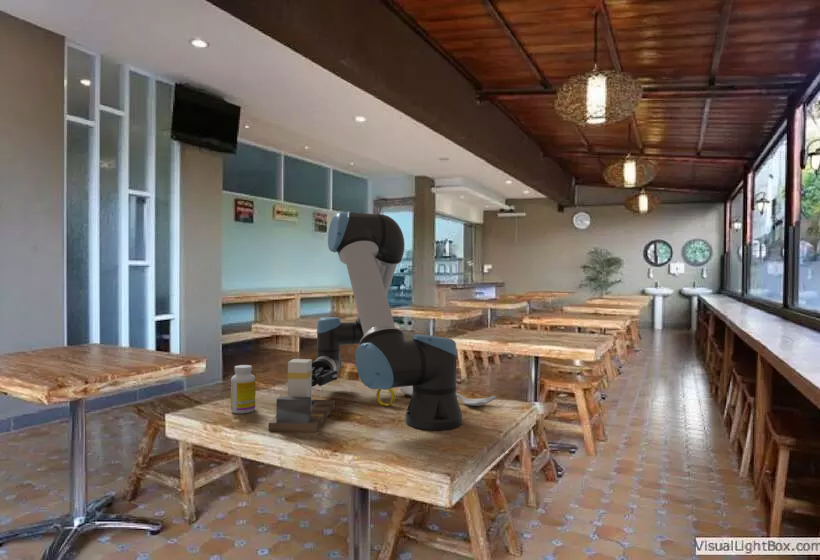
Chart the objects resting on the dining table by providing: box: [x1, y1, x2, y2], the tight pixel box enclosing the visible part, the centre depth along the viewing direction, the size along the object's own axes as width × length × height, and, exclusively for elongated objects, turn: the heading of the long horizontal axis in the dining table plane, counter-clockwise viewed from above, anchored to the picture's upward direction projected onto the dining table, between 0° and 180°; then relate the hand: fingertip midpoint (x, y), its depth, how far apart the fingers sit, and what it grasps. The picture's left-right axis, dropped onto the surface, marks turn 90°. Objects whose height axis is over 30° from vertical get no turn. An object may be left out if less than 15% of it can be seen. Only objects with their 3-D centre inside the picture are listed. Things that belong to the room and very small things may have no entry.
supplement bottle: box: [230, 364, 256, 415], centre depth 148 cm, size 7×7×13 cm
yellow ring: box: [375, 388, 396, 407], centre depth 157 cm, size 6×3×6 cm, turn 58°
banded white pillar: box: [286, 358, 313, 398], centre depth 137 cm, size 5×5×14 cm
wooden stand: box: [267, 395, 336, 433], centre depth 142 cm, size 24×12×8 cm, turn 177°
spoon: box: [399, 386, 497, 407], centre depth 163 cm, size 9×32×4 cm, turn 55°
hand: (302, 386), depth 140 cm, fingers closed
